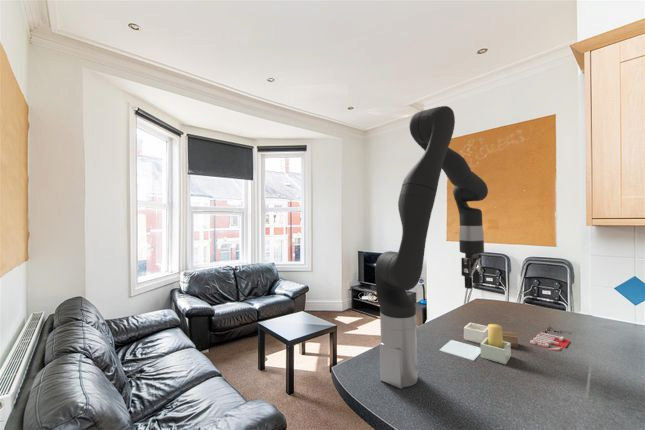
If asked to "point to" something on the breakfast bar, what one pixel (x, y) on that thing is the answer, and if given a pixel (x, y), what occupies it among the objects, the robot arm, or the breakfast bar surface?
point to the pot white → (475, 332)
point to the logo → (550, 340)
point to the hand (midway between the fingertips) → (472, 286)
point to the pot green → (495, 352)
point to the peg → (495, 335)
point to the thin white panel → (461, 350)
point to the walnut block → (510, 338)
